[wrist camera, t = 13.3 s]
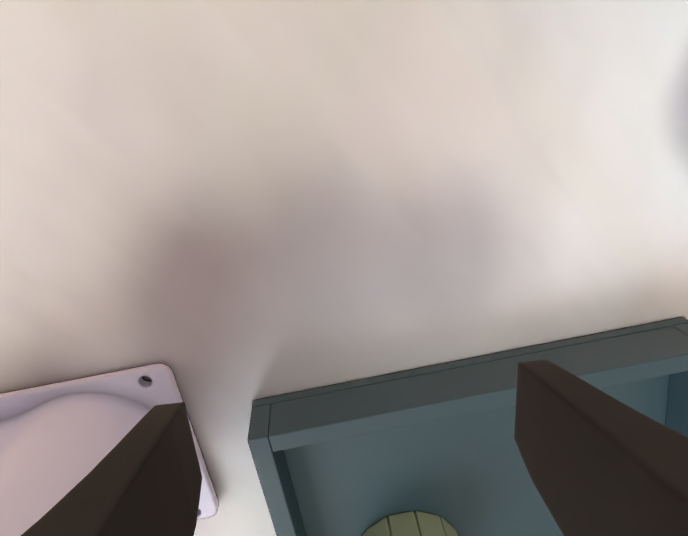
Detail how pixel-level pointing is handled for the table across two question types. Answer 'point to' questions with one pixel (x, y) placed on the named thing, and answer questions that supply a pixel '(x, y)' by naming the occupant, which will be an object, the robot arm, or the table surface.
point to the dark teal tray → (445, 436)
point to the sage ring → (411, 525)
